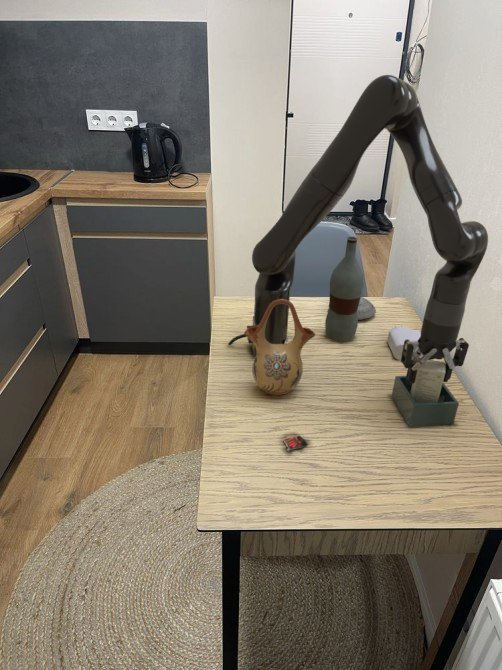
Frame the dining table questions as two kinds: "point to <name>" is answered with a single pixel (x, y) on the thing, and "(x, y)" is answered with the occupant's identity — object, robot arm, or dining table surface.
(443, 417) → the teal cube shelf
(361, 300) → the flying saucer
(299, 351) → the ceramic vessel
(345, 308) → the bottle
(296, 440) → the matchbox
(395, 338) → the charger
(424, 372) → the cosmetic box
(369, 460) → the dining table surface
